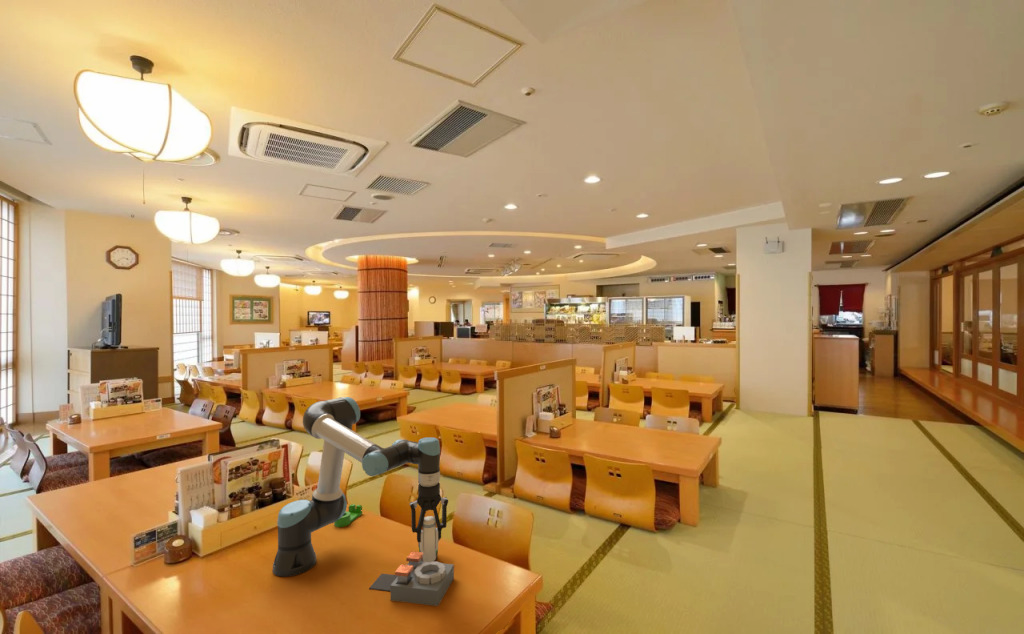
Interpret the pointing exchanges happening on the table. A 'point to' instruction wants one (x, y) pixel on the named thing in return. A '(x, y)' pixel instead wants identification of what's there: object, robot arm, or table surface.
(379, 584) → the mat
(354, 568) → the table surface
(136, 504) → the table surface
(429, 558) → the cartridge
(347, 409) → the robot arm
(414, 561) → the plunger
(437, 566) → the housing
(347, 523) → the tape dispenser
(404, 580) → the plunger
